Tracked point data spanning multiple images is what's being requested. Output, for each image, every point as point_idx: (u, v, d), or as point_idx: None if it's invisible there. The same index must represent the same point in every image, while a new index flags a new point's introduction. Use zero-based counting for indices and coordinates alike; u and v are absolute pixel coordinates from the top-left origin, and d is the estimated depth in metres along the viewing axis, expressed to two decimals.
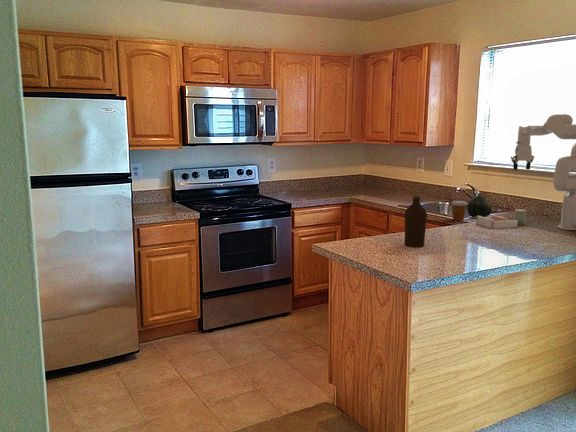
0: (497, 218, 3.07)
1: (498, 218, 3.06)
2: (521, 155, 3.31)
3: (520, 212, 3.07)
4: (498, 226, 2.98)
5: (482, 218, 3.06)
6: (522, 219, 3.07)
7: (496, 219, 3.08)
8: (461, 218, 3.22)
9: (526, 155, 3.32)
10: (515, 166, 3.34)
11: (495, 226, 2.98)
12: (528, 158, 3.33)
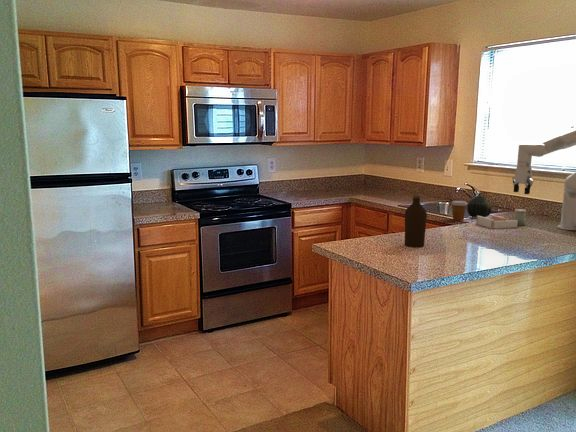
0: (497, 218, 3.07)
1: (498, 218, 3.06)
2: None
3: (520, 212, 3.07)
4: (498, 226, 2.98)
5: (482, 218, 3.06)
6: (522, 219, 3.07)
7: (496, 219, 3.08)
8: (461, 218, 3.22)
9: None
10: (529, 190, 3.02)
11: (495, 226, 2.98)
12: None
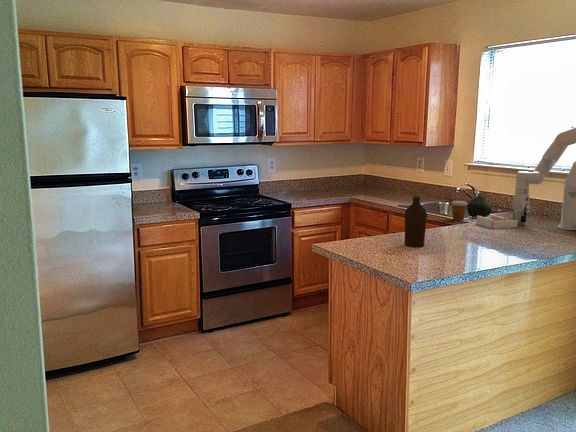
0: (497, 218, 3.07)
1: (498, 218, 3.06)
2: None
3: (520, 212, 3.07)
4: (498, 226, 2.98)
5: (482, 218, 3.06)
6: None
7: (496, 219, 3.08)
8: (461, 218, 3.22)
9: None
10: (525, 218, 3.07)
11: (495, 226, 2.98)
12: None
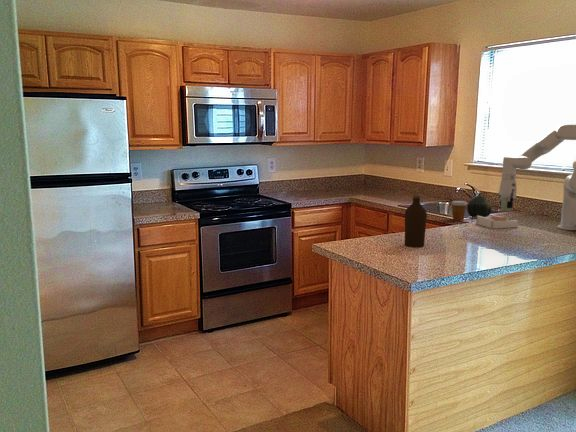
0: (497, 218, 3.07)
1: (498, 218, 3.06)
2: None
3: (506, 198, 3.03)
4: (498, 226, 2.98)
5: (482, 218, 3.06)
6: None
7: (496, 219, 3.08)
8: (461, 218, 3.22)
9: None
10: (511, 204, 3.03)
11: (495, 226, 2.98)
12: None
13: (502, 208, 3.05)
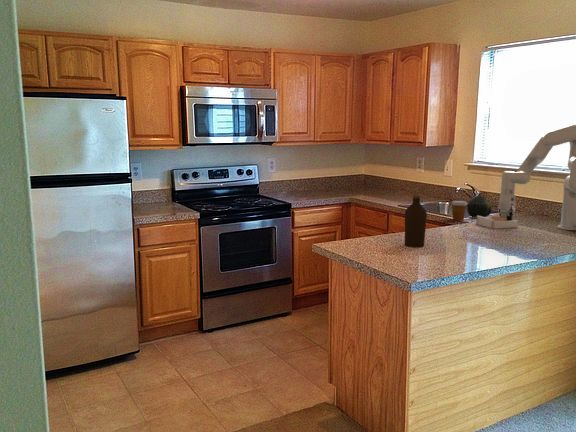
0: (497, 218, 3.07)
1: (498, 218, 3.06)
2: None
3: (506, 212, 3.04)
4: (498, 226, 2.98)
5: (482, 218, 3.06)
6: None
7: (496, 219, 3.08)
8: (461, 218, 3.22)
9: None
10: (511, 219, 3.04)
11: (495, 226, 2.98)
12: None
13: None
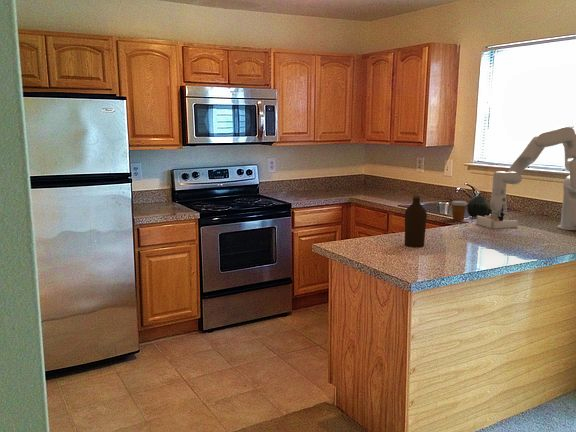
0: (490, 218, 3.05)
1: (491, 218, 3.04)
2: None
3: (497, 213, 3.03)
4: (498, 226, 2.98)
5: (482, 218, 3.06)
6: None
7: None
8: (461, 218, 3.22)
9: None
10: None
11: (495, 226, 2.98)
12: None
13: None
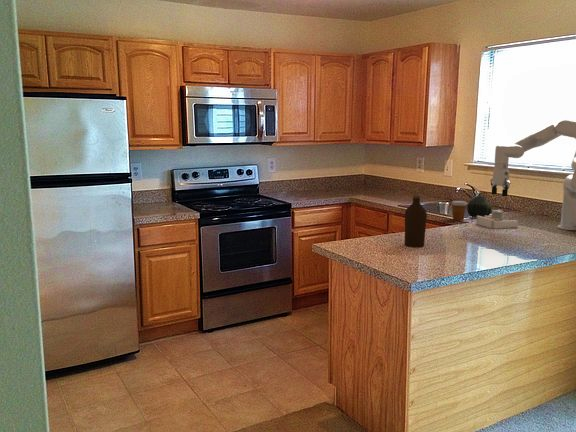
0: (490, 218, 3.05)
1: (491, 218, 3.04)
2: None
3: (497, 213, 3.03)
4: (498, 226, 2.98)
5: (482, 218, 3.06)
6: (499, 220, 3.04)
7: None
8: (461, 218, 3.22)
9: None
10: (506, 192, 2.99)
11: (495, 226, 2.98)
12: None
13: None
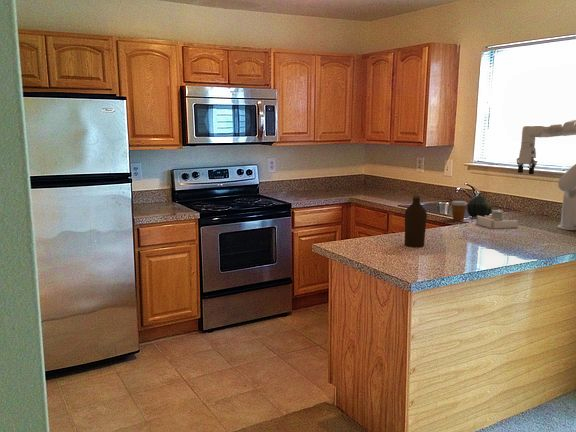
0: (490, 218, 3.05)
1: (491, 218, 3.04)
2: None
3: (497, 213, 3.03)
4: (498, 226, 2.98)
5: (482, 218, 3.06)
6: (499, 220, 3.04)
7: None
8: (461, 218, 3.22)
9: None
10: (533, 170, 3.10)
11: (495, 226, 2.98)
12: None
13: None
